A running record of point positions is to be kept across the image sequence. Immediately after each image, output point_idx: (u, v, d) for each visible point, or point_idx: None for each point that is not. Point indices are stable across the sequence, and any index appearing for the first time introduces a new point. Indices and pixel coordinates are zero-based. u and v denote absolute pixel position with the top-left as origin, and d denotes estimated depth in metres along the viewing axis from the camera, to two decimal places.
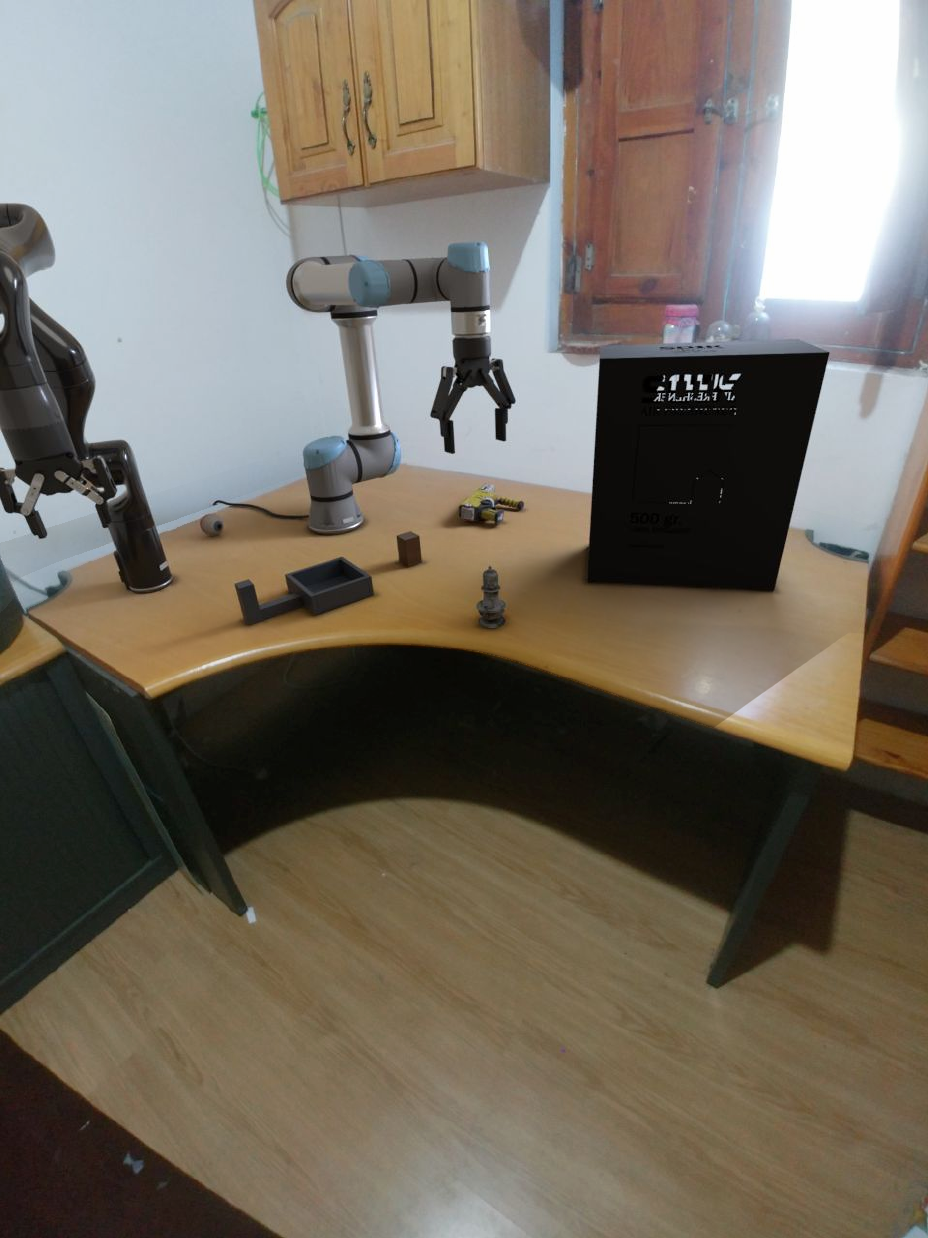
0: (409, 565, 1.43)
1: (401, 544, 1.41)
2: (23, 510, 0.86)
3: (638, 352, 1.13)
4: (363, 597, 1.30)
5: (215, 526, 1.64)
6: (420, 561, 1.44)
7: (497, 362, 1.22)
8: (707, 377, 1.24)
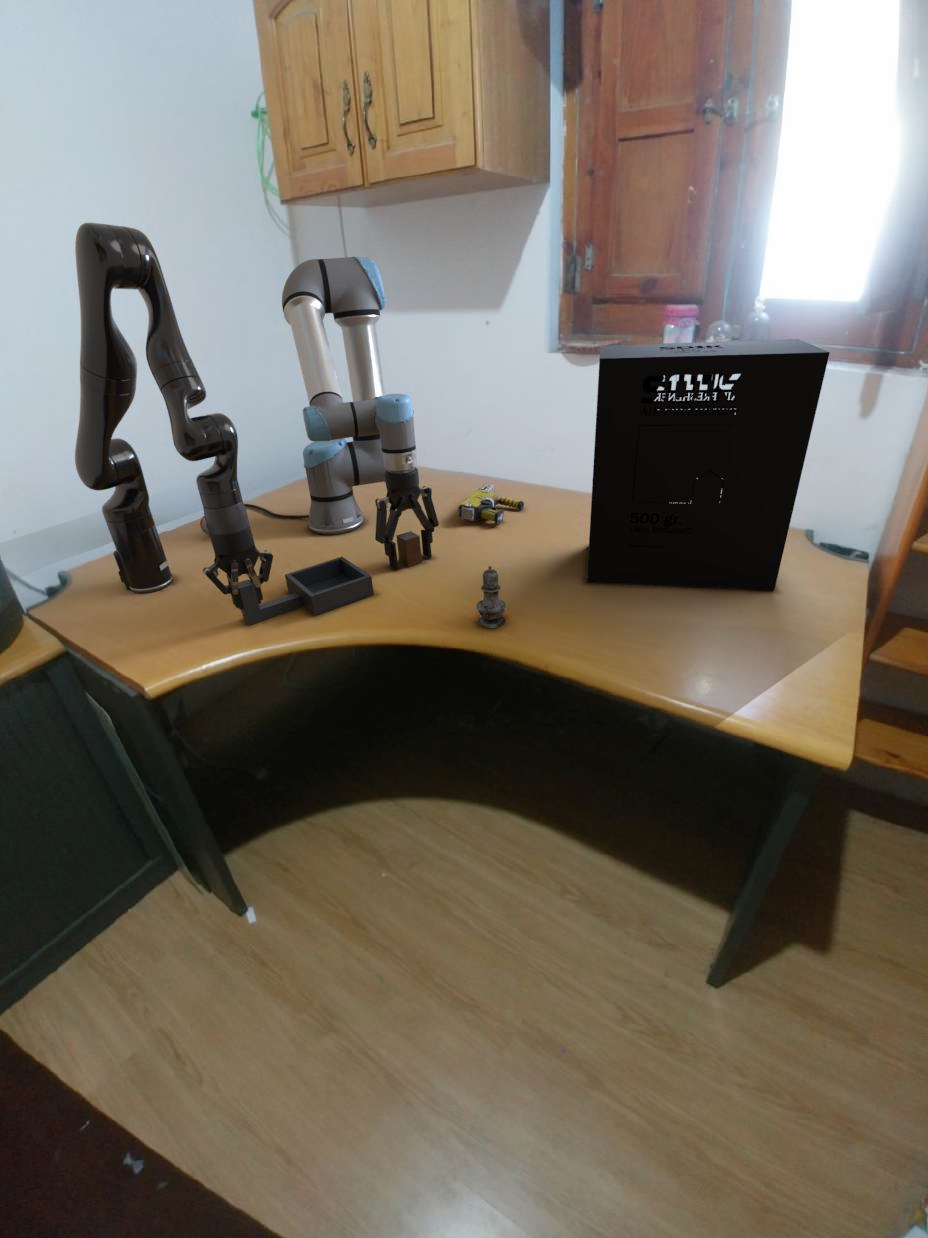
0: (409, 565, 1.43)
1: (401, 544, 1.41)
2: None
3: (638, 352, 1.13)
4: (363, 597, 1.30)
5: None
6: (420, 561, 1.44)
7: (426, 490, 1.39)
8: (707, 377, 1.24)
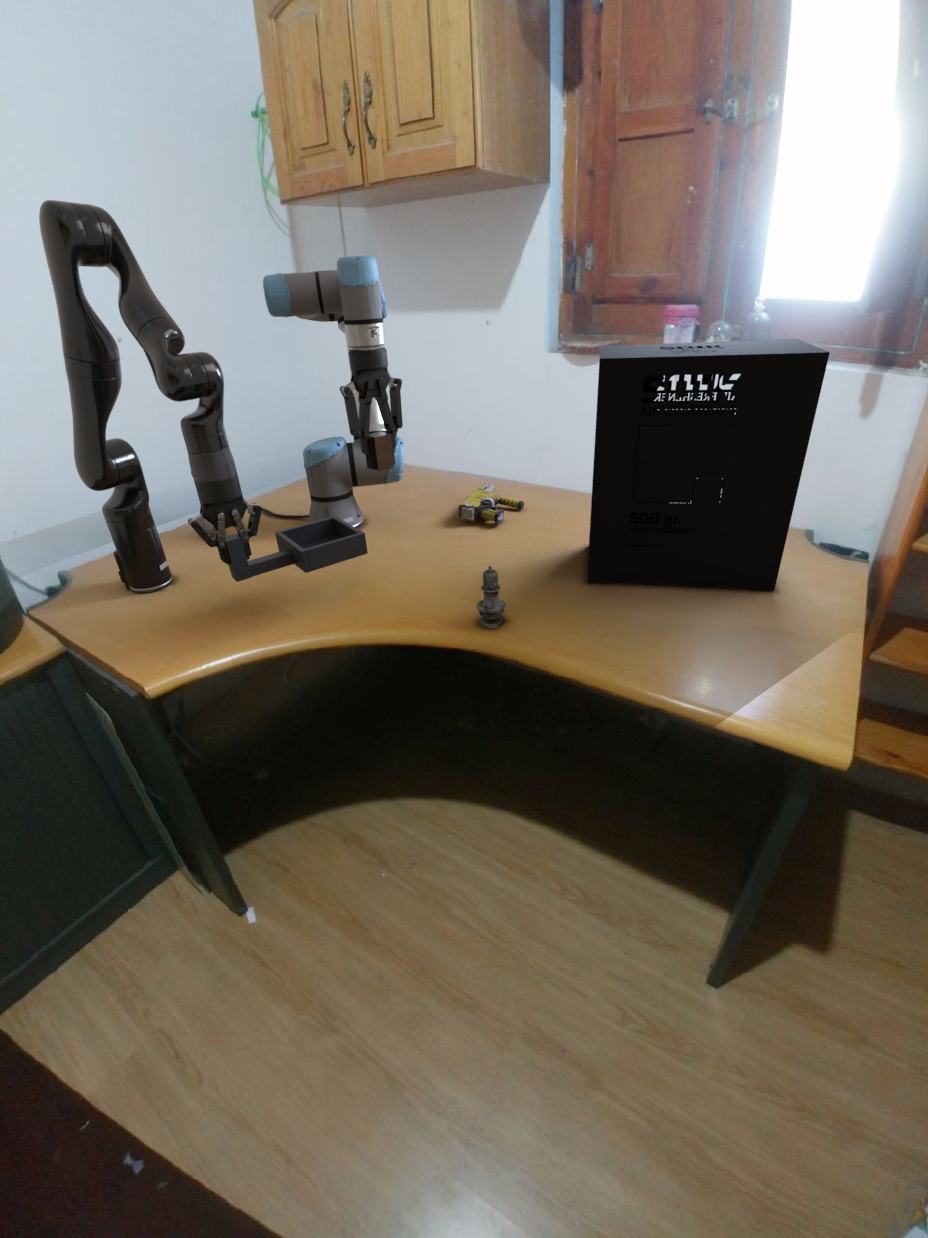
0: (380, 468, 1.27)
1: None
2: None
3: (638, 352, 1.13)
4: (356, 555, 1.25)
5: None
6: (392, 465, 1.29)
7: (396, 380, 1.24)
8: (707, 377, 1.24)
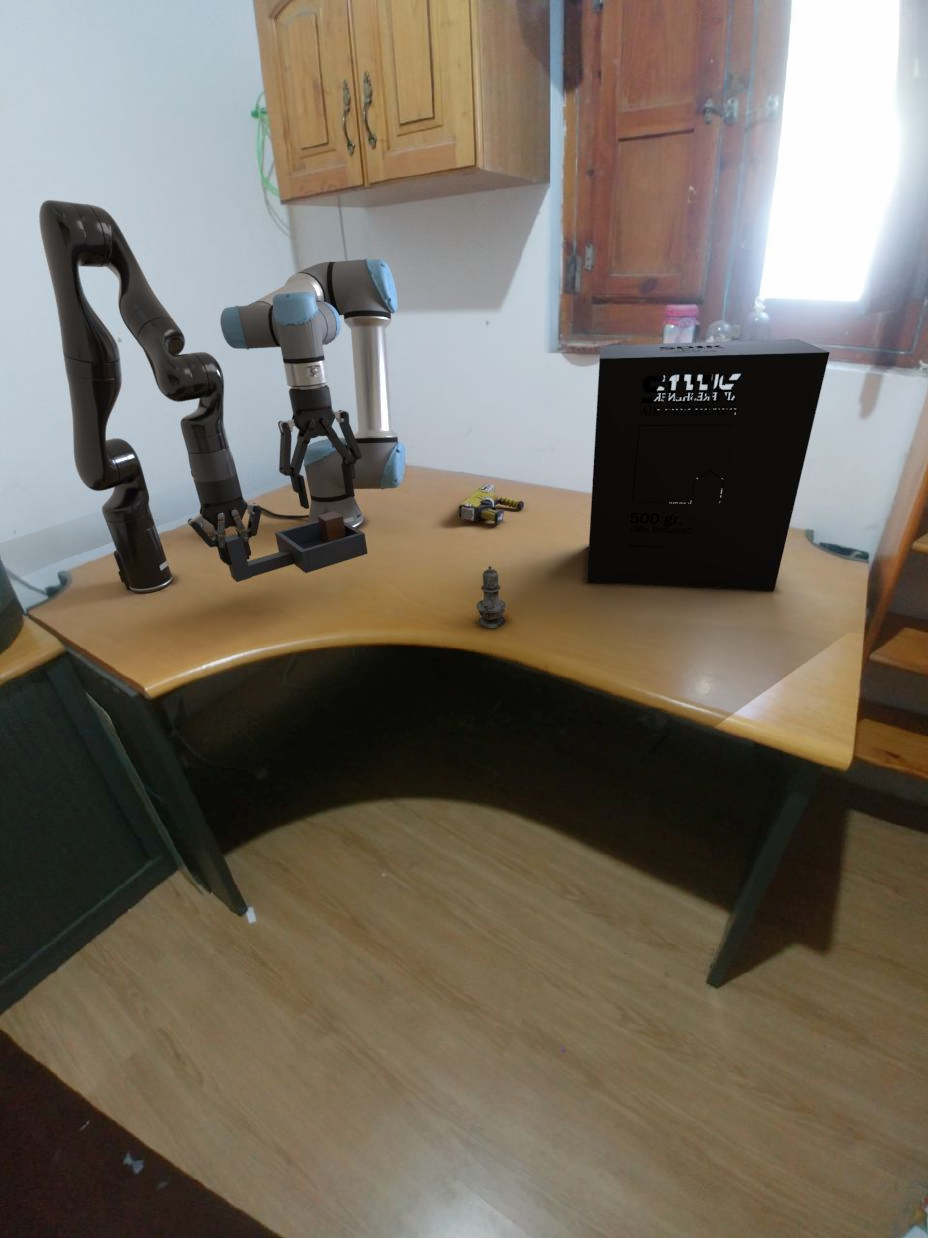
0: None
1: (323, 526, 1.25)
2: None
3: (638, 352, 1.13)
4: (356, 555, 1.25)
5: None
6: None
7: (342, 414, 1.18)
8: (707, 377, 1.24)
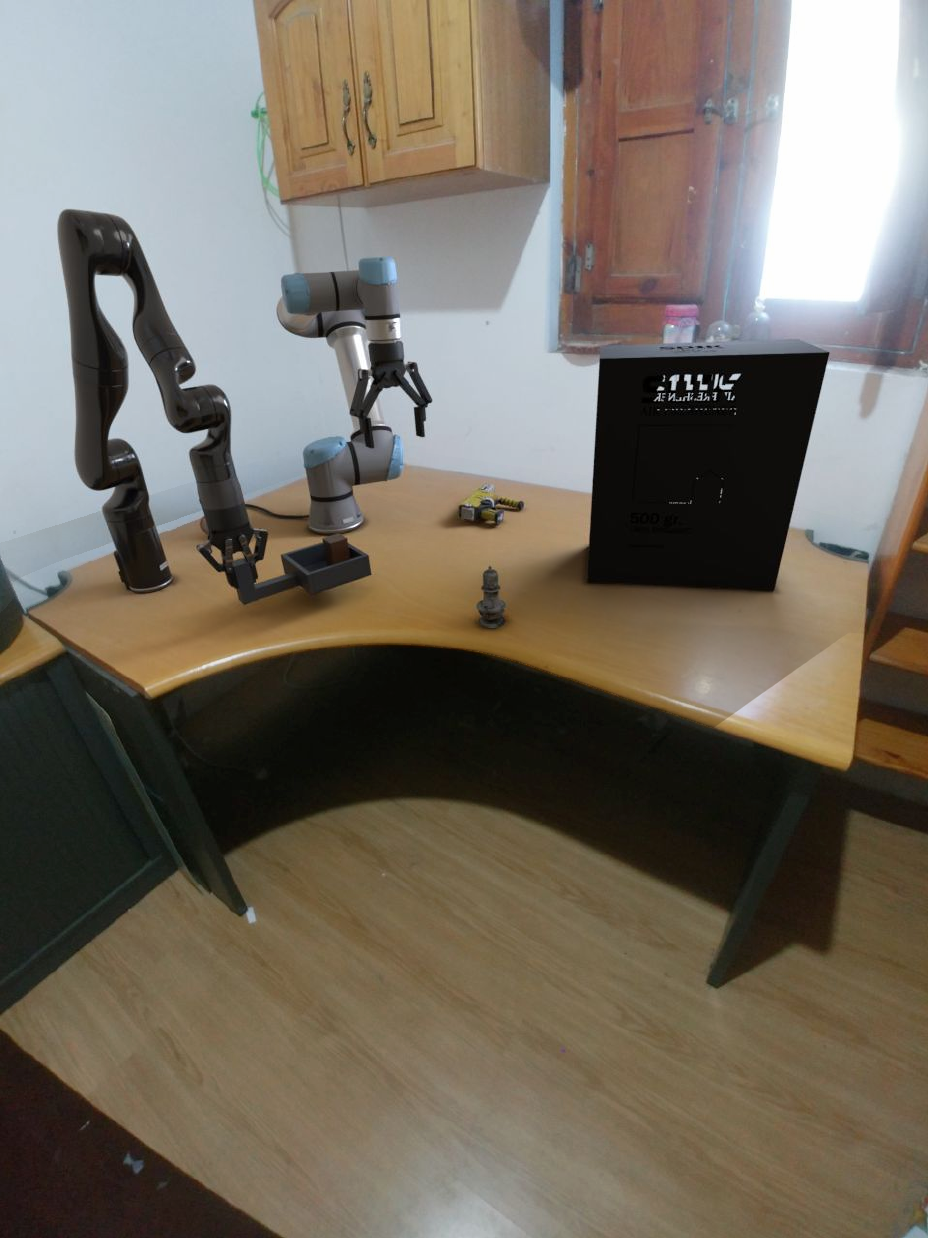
0: None
1: (327, 548, 1.28)
2: None
3: (638, 352, 1.13)
4: (360, 577, 1.27)
5: None
6: None
7: (412, 365, 1.34)
8: (707, 377, 1.24)
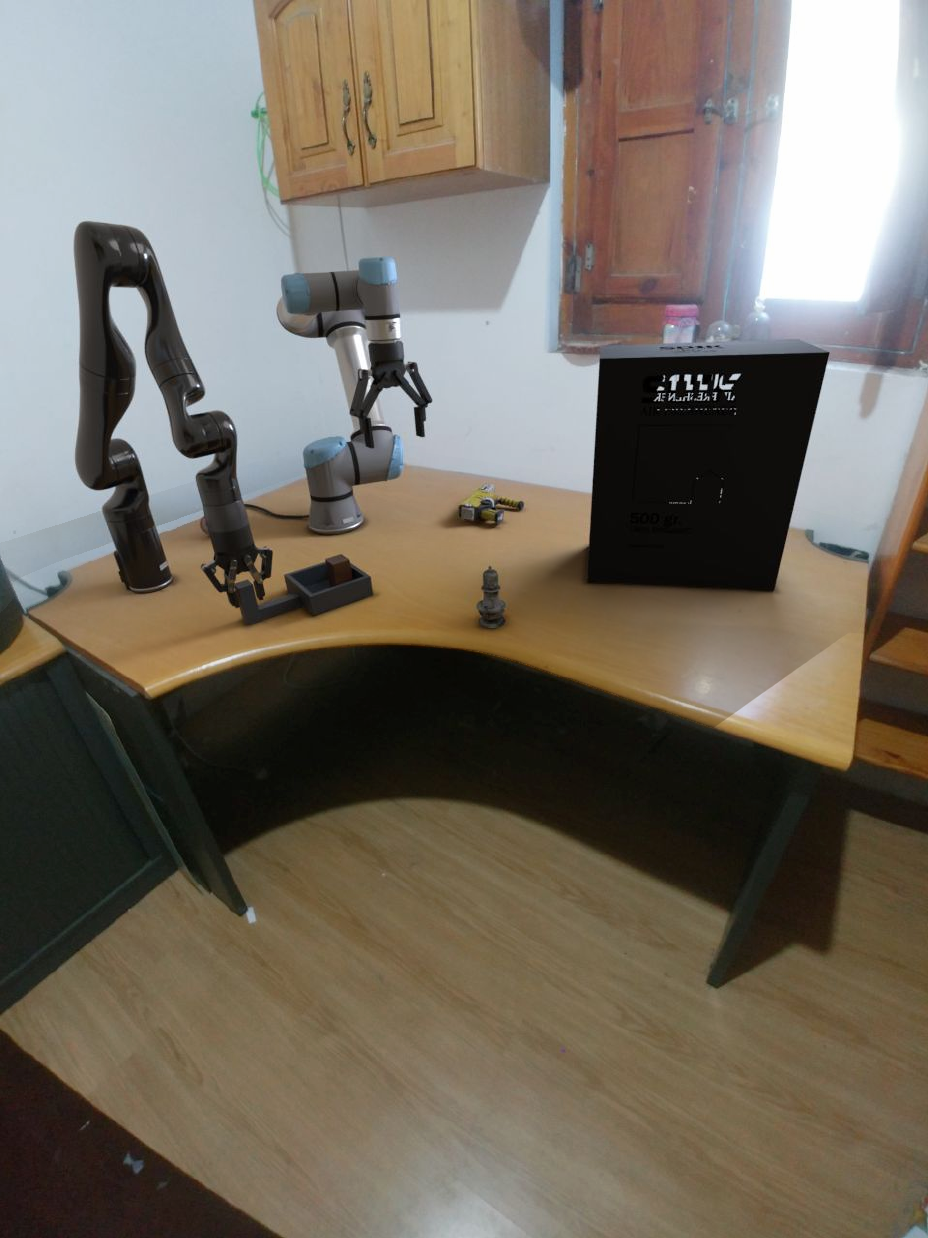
0: None
1: (330, 569, 1.30)
2: None
3: (638, 352, 1.13)
4: (362, 597, 1.30)
5: None
6: None
7: (412, 365, 1.34)
8: (707, 377, 1.24)
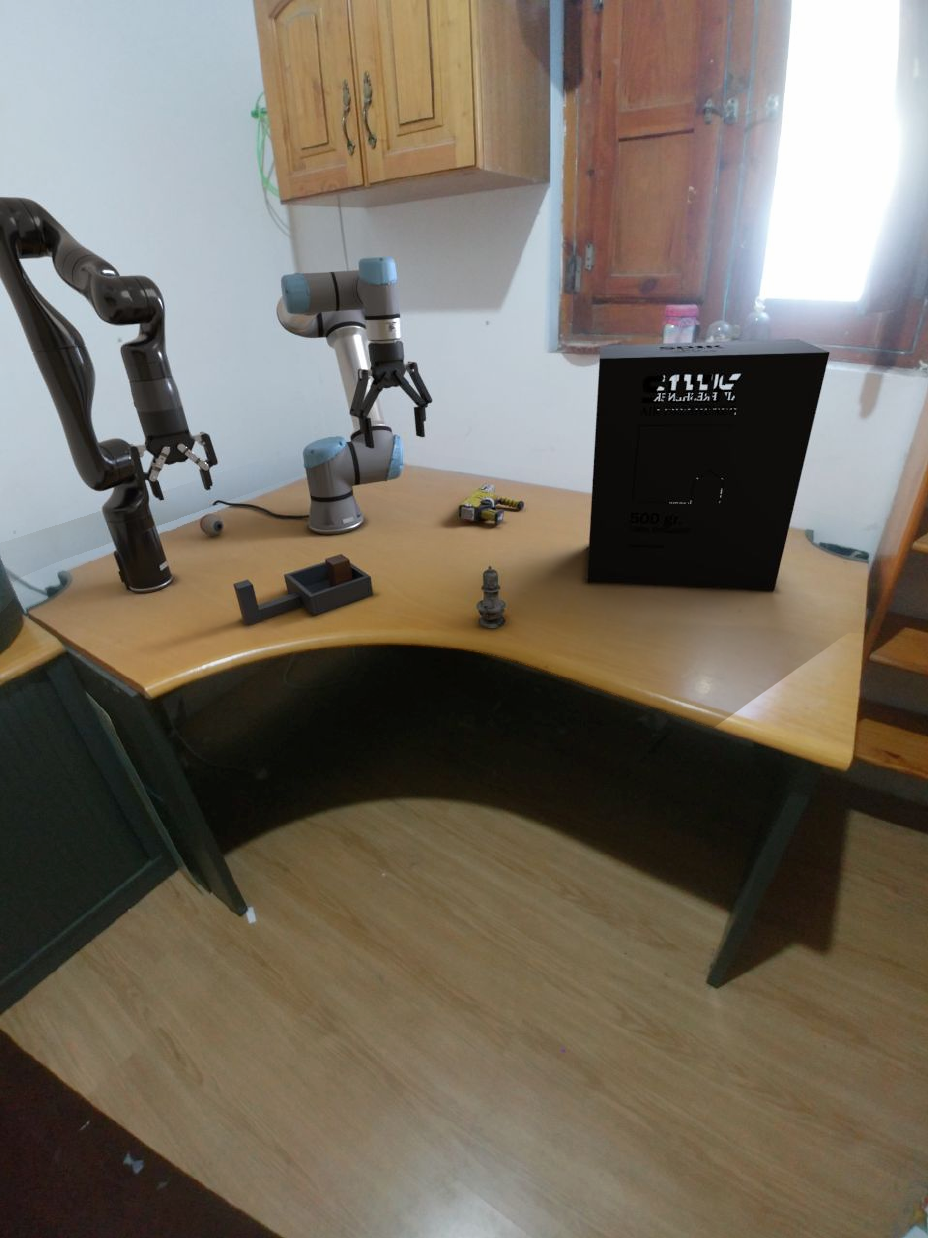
0: None
1: (330, 569, 1.30)
2: None
3: (638, 352, 1.13)
4: (362, 597, 1.30)
5: (215, 526, 1.64)
6: None
7: (412, 365, 1.34)
8: (707, 377, 1.24)
